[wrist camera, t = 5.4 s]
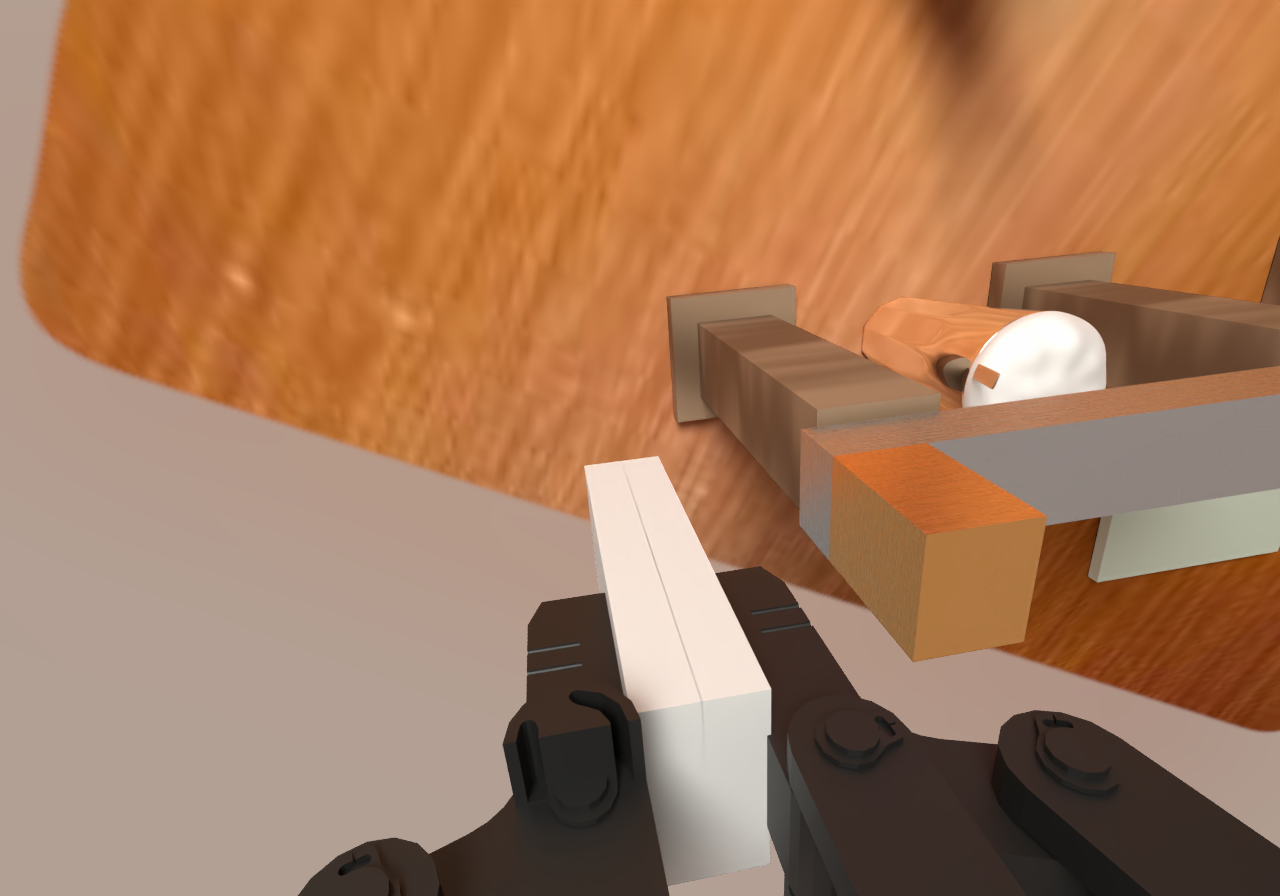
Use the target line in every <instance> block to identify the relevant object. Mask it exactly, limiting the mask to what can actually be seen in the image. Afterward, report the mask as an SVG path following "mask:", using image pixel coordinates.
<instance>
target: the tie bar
mask: <svg viewBox="0 0 1280 896" xmlns="http://www.w3.org/2000/svg"><path fill="white" fill-rule="evenodd" d="M1279 488H1280V366H1275V367H1267V368H1260V369H1252V370H1245V371H1237V372H1230V373H1222V374H1215V375H1207V376H1200V377H1192V378H1184V379H1177V380H1169V381H1162V382H1154V383H1147V384H1139V385H1132V386H1124V387H1117V388H1109V389H1102V390H1094V391H1086V392H1079V393H1071V394H1064V395H1056V396H1049V397H1041V398H1034V399H1026V400H1019V401H1011V402H1004V403H996V404H989V405H981V406H973V407H966V408H958V409H951V410H943V411H936V412H928V413H921V414H913V415H906V416H898V417H891V418H883V419H875V420H868V421H860V422H853V423H845V424H838V425H830V426H823V427H815V428H808V429H801V460H800V510H799V525H800V526H801V527H802V529H803V530H804V531H805V532H806V533H807V535H808V536H809V537H810V538H811V539H812V541H813V542H814V543H815V544H816V545H817V547H818V548H819V549H820V550H821V552H822V553H823V554H824V555H825V556H826V558H827V559H828V560H829V561H830V562H831V564H832V565H833V566H834V567H835V568H836V570H837V571H838V572H839V573H840V574H841V576H842V577H843V578H844V579H845V580H846V582H847V583H848V584H849V585H850V587H851V588H852V589H853V590H854V591H855V593H856V594H857V595H858V596H859V597H860V599H861V600H862V601H863V602H864V603H865V605H866V606H867V607H868V608H869V609H870V611H871V612H872V613H873V614H874V615H875V617H876V618H877V619H878V620H879V622H880V623H881V624H882V625H883V626H884V628H885V629H886V630H887V631H888V632H889V633H890V635H891V636H892V637H893V638H894V640H895V641H896V642H897V643H898V644H899V646H900V647H901V648H902V649H903V650H904V651H905V653H906V654H907V655H908V657H909V658H910V659H911V660H912V661H913V662H916V661H921V660H927V659H932V658H938V657H943V656H948V655H954V654H959V653H965V652H970V651H976V650H982V649H987V648H993V647H998V646H1004V645H1009V644H1015V643H1020V642H1024V638H1025V633H1026V627H1027V622H1028V617H1029V611H1030V606H1031V601H1032V595H1033V590H1034V585H1035V580H1036V574H1037V569H1038V564H1039V558H1040V553H1041V548H1042V542H1043V537H1044V532H1045V526H1047V525H1053V524H1060V523H1066V522H1072V521H1078V520H1085V519H1091V518H1097V517H1104V516H1110V515H1116V514H1122V513H1129V512H1135V511H1141V510H1148V509H1154V508H1160V507H1166V506H1173V505H1179V504H1185V503H1192V502H1198V501H1204V500H1210V499H1217V498H1223V497H1229V496H1236V495H1242V494H1248V493H1254V492H1261V491H1267V490H1273V489H1279Z"/></svg>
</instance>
